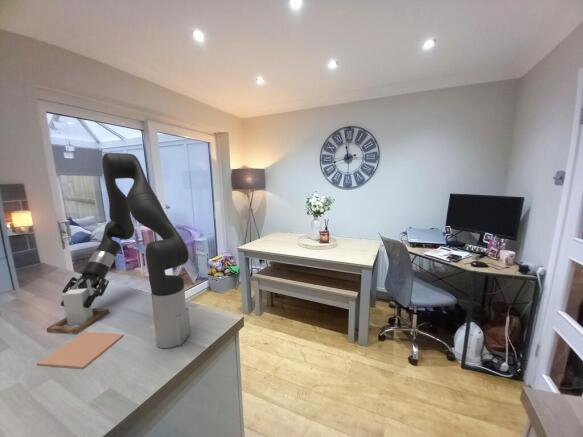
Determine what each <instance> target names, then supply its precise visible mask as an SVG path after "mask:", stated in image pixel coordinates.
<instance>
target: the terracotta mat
mask: <svg viewBox="0 0 583 437" xmlns="http://www.w3.org/2000/svg"><path fill="white" fill-rule="evenodd" d="M124 336H125V335H124V333H109V332H108V333H107V332H105V333H104V332H91V331H89V332H88V331H84V332H83V333H81V334H80V335H78V336H76V337H75V338H73V339H72V340H70V341H68V342H67V343H66V344H64V345H62V346H61V347H60V348H58V349H57V350H55V351H54V352H52V353H51V354H49V355H48V356H46V357H45V358H43V359H42V360H40V361H39V362H37V363H36V365H37V366H41V367H56V368H69V369H80V370H81V369H82V370H84V369H85V368H86V367H87V366H89V365H90V364H91V363H92V362H94V361H95V360H96V359H97V358H99V357H101V355H102V354H104V353H105V352H106V351H108V350H109V349H110V348H111V347H112V346H113V345H115V344H116V343H117V342H118V341H119V340H121V339H122V338H123V337H124Z"/></svg>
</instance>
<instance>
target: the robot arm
mask: <svg viewBox="0 0 583 437" xmlns="http://www.w3.org/2000/svg"><path fill="white" fill-rule="evenodd" d="M101 164H102V172H103V173H102V174H103V178H104V184H105V188H106V192H107V193H106V194H107V197H108V208H109V209H108V210H109V211H108V212H109V213H108V214H109V215H108V216H109V218H110V221H109V222H107V223H106V225H105V226H104V230H103V235H102V238H101V241H100V243H99V245H98V247H97V248H96V250H95V251H94V252H93V254H92V255H91V256H90V257H89V259H88V260H87V263H86V265H85V266H84V268H83V269H82V270H81V275H80V276H81V277H80V276H79V278H78V277H77V278H76V277H74V276H73V277H71V278H70V280H69V281H68V283H67V284H66V285H65V287H64V288H63V290H62V293H63V294H64V293H66V292H67V291H69V290H73V289H86V288H88V291H89V295H90V296H88V297H87V299H86V301H85V302H84V304H83V307H85V308H89V307H90V306H92V304H93V303H94V301H95V299H96V298H97V297H103V295H104V293H105V291H106V289H107V287H108V286H109V285H108V284H109V283H110V281H109V280H108V279H106V276H107V274H108V272H109V271H110V269H111V267H112V265H113V263H114V261H115V259H116V256H117V254H118V253H119V251H120V250H121V247H122V246H121V244H120V243H119V242H117V241H116V240H114V239H120V240H125V241H127V240H130V239H131V238H133V236H135V226H134V223H133V220H132V218H133V219H134V220H135V221H136V222H138V223H139V224H140V225H141V226H143V227H146V228H147V229H149V230H151V231H152V232H154V233H155V234H157V235H158V236H159V237H161V238H160V239H159V240H154V241H150V242H148V244H147V245H146V246H145V260H146V265H147V273H148V280H149V285H150V290H151V291H150V292H151V301H152V302H151V303H152V311H153V313H152V314H153V324H154V335H155V344H156V347H158V348H160V349H170V348H175V347H178V346H179V347H180V346H182V345H183V344H184V342H185V341H186V340H187V339H188V337H189V336H190V335H191V324H190V323H191V322H190V309H189V307H187V306H186V305H187V304H186V303H187V302H186V293H185V292H186V291H185V279H184V277H182V276H180V275H173V274H171V275H170V274H166V270H169V269H173V268H178V267H180V266H183V265H185V264H186V263H187V262H188V261H189V259H190V257H189V250H188V247H187V245H186V242H185V241H184V239H183V238H182V236H181V235H180V233H179V232H178V231H177V229H176V228H175V226H174V225H173V224H172V223H171V221H170V219H169V218H168V215H167V214H166V212H165V210H164V208H163V206H162V205H161V202H160V201H159V198H158V196H157V195H156V193H155V192H154V191H153V187H151V185H150V183H149V181H148V179H147V177H146V175H145V172H144V170H143V167H142V164H141V162H140V160H139V159H138V157H137V156H136V155H135V154H132V153H125V152H124V153H123V152H122V153H121V152H107V153H104V154H103V155H102V159H101ZM117 179H132V180H133V184H132V186H130V187H131V188H130V189H129V191H128V192H127V195H126V194H124V193H123V191H122V190H121V189H120V188H119V186H118V184H117V181H116V180H117ZM131 216H132V217H131ZM113 238H114V239H113ZM60 306H62V307H64V302H63V299H62V300H61V303H60Z"/></svg>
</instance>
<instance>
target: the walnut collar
mask: <svg viewBox="0 0 583 437" xmlns="http://www.w3.org/2000/svg"><path fill="white" fill-rule="evenodd" d="M92 312H93V317H92V318H91V319H89V320H87V321H86V322H84V323H82V324H78V325H77V326H67V325H68V321H67V316H66V317H65V318H62V319H61V320H59V321H57V322H55V323H53V324H52V325H50V326H48V327H46V332H47V333H52V334H54V333H55V334H71V335H79V333H81V332H83V331H84V330H86V329H87V328H88V327H90V326H91V325H93V324H95V323H97V322H98V321H99V320H101V319H102V318H104V317H105V316H106V317H107V315H109V314H110V309H106V308H92ZM65 325H66V326H65Z"/></svg>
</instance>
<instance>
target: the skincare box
mask: <svg viewBox="0 0 583 437" xmlns="http://www.w3.org/2000/svg"><path fill="white" fill-rule="evenodd" d="M68 290H69V289H68ZM88 296H90V295H89V291H88V288H86V289H79V288H78V289H73V290H69V291H67V292H66V293H63V294H61V297H62V300H63V302H64V306H63V307H64V311H65V316H66V317H67V321H68V323H67V325H68V326H75V325H77V326H78V325H81V324H82V323H84V322H86V321H87V320H89V319H91V318H92V317H94V314H93V312H92V309H93V306H92V305H91V306H90V307H89V308H85V307H83V304H84V302H85V301H86V299H87V297H88Z"/></svg>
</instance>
